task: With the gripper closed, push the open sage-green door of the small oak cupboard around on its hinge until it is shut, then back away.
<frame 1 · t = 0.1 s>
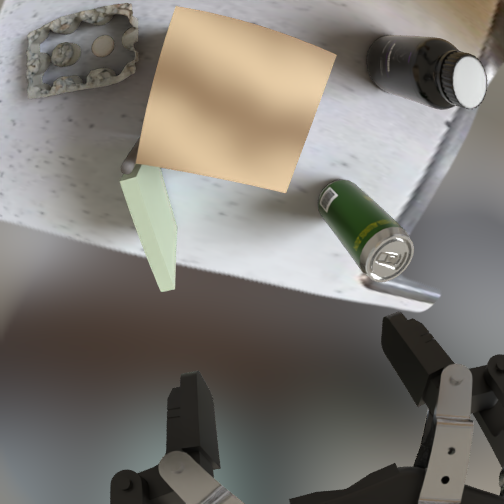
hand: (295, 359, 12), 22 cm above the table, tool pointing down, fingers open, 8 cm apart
supplement bottle: (389, 64, 26), on the table
door: (149, 211, 26), point 5 cm above the table, hinge at 65.0°
egg carton: (87, 52, 21), on the table
beer can: (336, 198, 35), on the table
cupboard: (220, 88, 26), on the table
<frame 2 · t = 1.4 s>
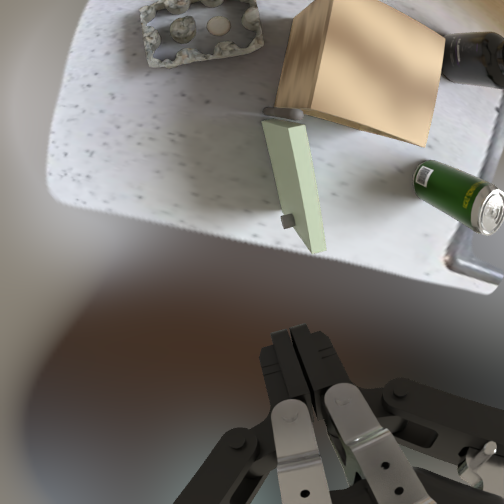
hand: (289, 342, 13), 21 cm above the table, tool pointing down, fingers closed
supplement bottle: (451, 59, 27), on the table
door: (285, 178, 26), point 5 cm above the table, hinge at 65.0°
egg carton: (201, 31, 24), on the table
beer can: (425, 178, 34), on the table
cupboard: (330, 74, 27), on the table
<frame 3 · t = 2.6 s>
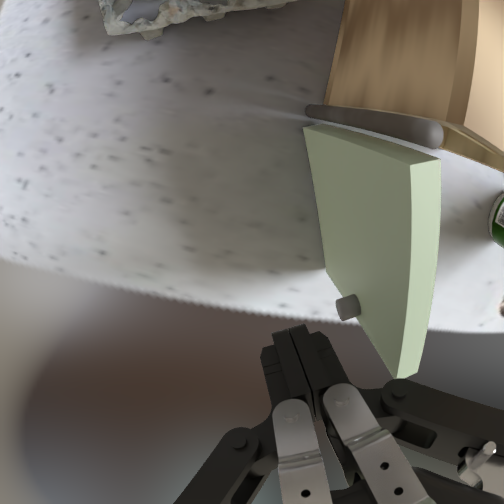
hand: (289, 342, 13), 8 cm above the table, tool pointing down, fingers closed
door: (353, 240, 14), point 5 cm above the table, hinge at 65.0°
beer can: (500, 214, 22), on the table
cupboard: (407, 59, 15), on the table
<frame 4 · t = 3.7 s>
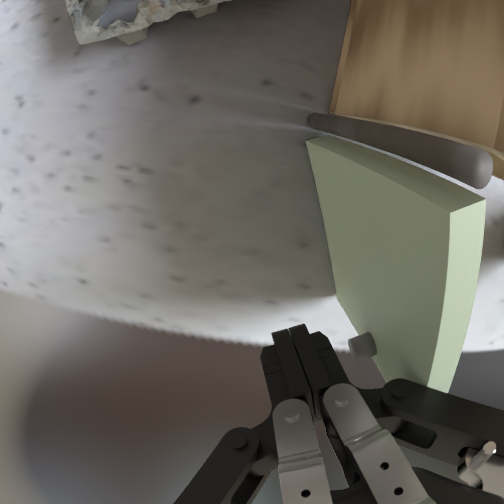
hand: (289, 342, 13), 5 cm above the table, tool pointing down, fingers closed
door: (368, 277, 12), point 5 cm above the table, hinge at 62.5°, touching hand
cupboard: (423, 60, 13), on the table
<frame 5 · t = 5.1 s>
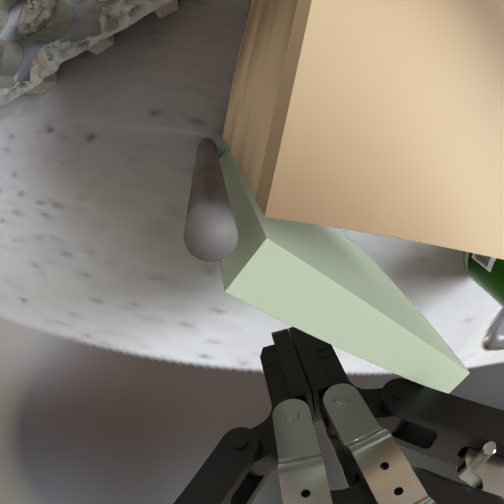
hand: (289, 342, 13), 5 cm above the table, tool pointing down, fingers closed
door: (325, 270, 12), point 5 cm above the table, hinge at 25.3°, touching hand
egg carton: (86, 6, 10), on the table
beer can: (481, 245, 20), on the table
cupboard: (341, 63, 13), on the table
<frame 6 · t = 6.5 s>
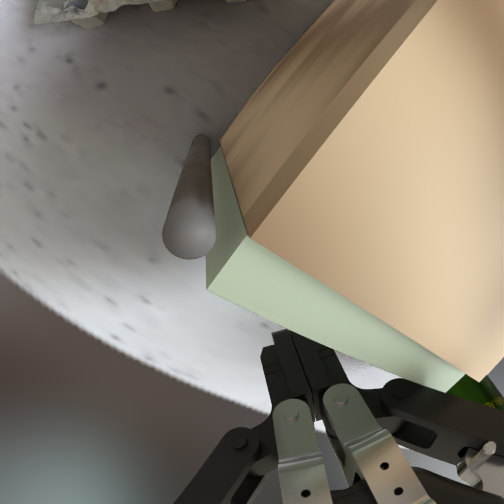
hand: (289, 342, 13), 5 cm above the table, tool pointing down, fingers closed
door: (320, 267, 11), point 5 cm above the table, hinge at -0.6°, touching hand
beer can: (413, 334, 23), on the table
cupboard: (358, 121, 14), on the table
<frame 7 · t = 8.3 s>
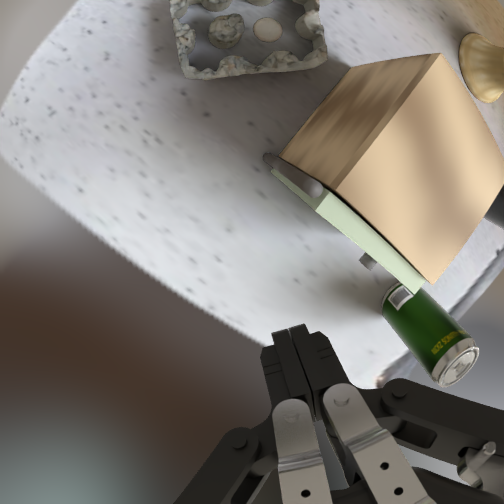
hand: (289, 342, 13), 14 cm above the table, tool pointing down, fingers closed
supplement bottle: (481, 186, 28), on the table
door: (340, 226, 21), point 5 cm above the table, hinge at -0.8°
egg carton: (245, 35, 19), on the table
beer can: (397, 297, 32), on the table
hand bell: (480, 67, 22), on the table
cupboard: (358, 148, 24), on the table
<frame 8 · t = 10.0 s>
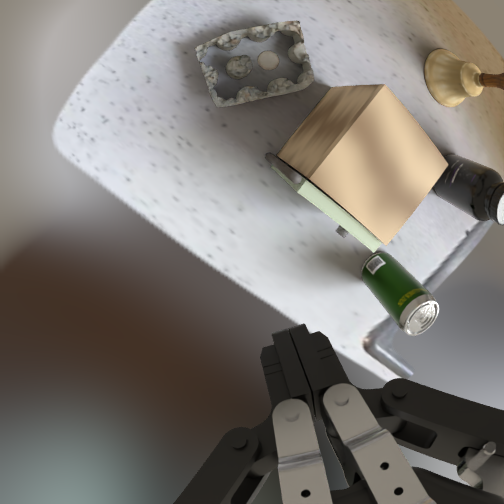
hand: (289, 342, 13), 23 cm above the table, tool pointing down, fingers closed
supplement bottle: (446, 176, 36), on the table
door: (320, 205, 30), point 5 cm above the table, hinge at -0.8°
egg carton: (252, 66, 28), on the table
beer can: (375, 266, 41), on the table
hand bell: (445, 77, 30), on the table
cupboard: (337, 148, 33), on the table
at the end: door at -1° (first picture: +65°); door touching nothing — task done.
